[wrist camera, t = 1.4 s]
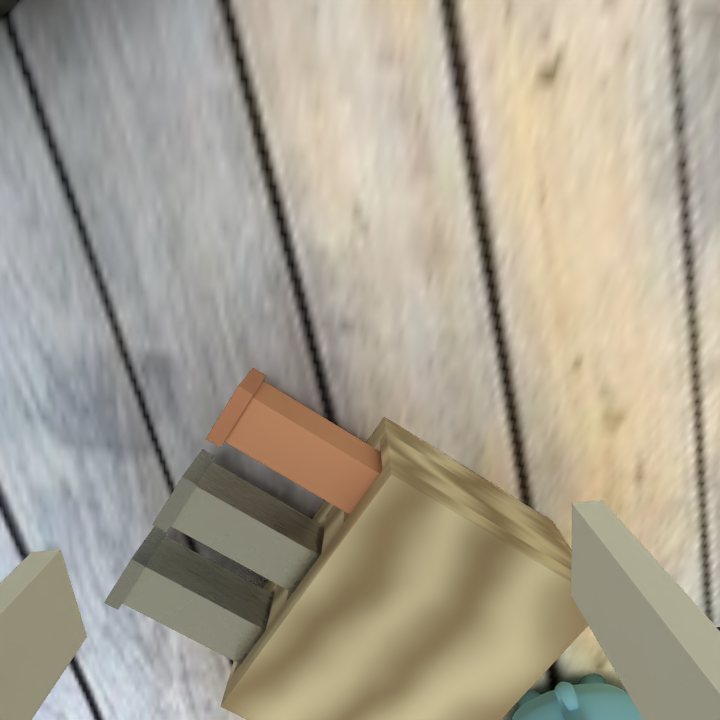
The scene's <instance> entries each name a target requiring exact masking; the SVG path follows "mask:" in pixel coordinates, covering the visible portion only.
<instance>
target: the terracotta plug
mask: <svg viewBox="0 0 720 720" xmlns="http://www.w3.org/2000/svg"><path fill="white" fill-rule="evenodd" d="M265 377H266V375H264V374H263V373H261V372H259V371H258V370H256V369H254V368H253V369H252V370H251V371H250V372H249V374H248V375H247V376H246V377H245V379H244V380H243V381H242V382H241V384H240V385H239V386H238V388H237V389H236V391H235V393H234V394H233V396H232V397H231V399H230V401H229V402H228V404H227V405H226V407H225V409H224V410H223V412H222V413H221V415H220V417H219V418H218V420H217V422H216V423H215V425H214V426H213V428H212V430H211V431H210V433H209V434H208V436H207V438H206V439H207V440H208V441H210V442H212V443H214V444H215V445H217V446H219V447H221V445H222V444H223V442H226V443H228V444H229V445H231V446H233V447H234V448H236V449H238V450H240V451H241V452H243V453H245V454H246V455H248V456H250V457H252V458H253V459H255V460H257V461H259V462H260V463H262V464H264V465H265V466H267V467H269V468H271V469H272V470H274V471H276V472H277V473H279V474H281V475H283V476H284V477H286V478H288V479H290V480H291V481H293V482H295V483H296V484H298V485H300V486H302V487H303V488H305V489H307V490H308V491H310V492H312V493H314V494H315V495H317V496H319V497H320V498H322V499H324V500H326V501H327V502H329V503H331V504H333V505H334V506H336V507H338V508H339V509H341V510H343V511H345V512H346V513H348V514H351V513H352V511H353V510H354V509H355V507H356V506H357V504H358V503H359V502H360V500H361V499H362V498H363V496H364V495H365V493H366V492H367V491H368V489H369V488H370V487H371V485H372V484H373V483H374V481H375V480H376V478H377V477H378V476H379V474H380V473H381V472H382V460H381V452H380V451H378V450H376V449H375V448H373V447H371V446H370V445H368V444H367V443H365V442H363V441H362V440H360V439H358V438H357V437H355V436H353V435H352V434H350V433H348V432H347V431H345V430H343V429H342V428H340V427H339V426H337V425H335V424H334V423H332V422H330V421H329V420H327V419H325V418H324V417H322V416H320V415H319V414H317V413H315V412H314V411H312V410H311V409H309V408H307V407H306V406H304V405H302V404H301V403H299V402H297V401H296V400H294V399H292V398H291V397H289V396H287V395H286V394H284V393H283V392H281V391H279V390H278V389H276V388H274V387H273V386H271V385H269V384H268V383H266V382H264V381H263V380H264V378H265Z"/></svg>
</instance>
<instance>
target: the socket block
mask: <svg viewBox="0 0 720 720" xmlns="http://www.w3.org/2000/svg"><path fill="white" fill-rule="evenodd" d="M366 443H367V444H368V445H370V446H371V447H373V448H375V449H376V450H378V451H380V452H381V460H382V472H381V473H380V474H379V476H378V477H377V478H376V480H375V481H374V483H373V484H372V485H371V487H370V488H369V489H368V491H367V492H366V493H365V495H364V496H363V498H362V499H361V500H360V502H359V503H358V504H357V506H356V507H355V509H354V510H353V511H352V513H351V514H348V513H346V512H345V511H343V510H341V509H339V508H338V507H336V506H334V505H333V504H331V503H329V502H327V501H326V500H325V501H324V503H323V504H322V506H321V507H320V509H319V510H318V511H317V513H316V514H315V516H314V517H313V518H312V519H313V520H315V521H317V522H318V523H320V524H322V525H324V526H325V529H324V537H323V545H322V553H321V555H320V556H319V558H318V559H317V561H316V562H315V563H314V565H313V566H312V567H311V569H310V570H309V572H308V573H307V574H306V576H305V577H304V578H303V580H302V581H301V583H300V584H299V585H298V587H297V588H296V589H295V591H294V592H293V593H292V592H290V591H289V590H287V589H285V588H283V587H281V586H279V585H278V584H276V583H274V582H272V581H270V580H268V582H267V583H266V585H265V586H264V587H263V589H264V590H266V591H268V592H270V593H272V594H274V598H273V602H272V607H271V611H270V615H269V619H268V623H267V627H266V630H265V632H264V633H263V635H262V636H261V637H260V639H259V640H258V641H257V643H256V644H255V646H254V647H253V648H252V650H251V651H250V652H249V654H248V655H247V656H246V658H245V659H244V661H243V662H242V663H241V664H239V663H237V662H235V661H234V663H233V666H232V670H231V673H230V676H229V680H228V683H227V686H226V690H225V693H224V696H223V700H222V703H221V707H223V708H225V709H227V710H229V711H231V712H233V713H235V714H237V715H239V716H241V717H243V718H245V719H247V720H501V719H502V718H503V717H504V716H505V715H506V714H507V713H508V711H509V710H510V709H511V708H512V707H513V706H514V705H515V704H516V703H517V702H518V701H519V700H520V699H521V697H522V696H523V695H524V694H525V693H526V692H527V691H528V690H529V689H530V688H531V687H532V686H533V684H534V683H535V682H536V681H537V680H538V679H539V678H540V677H541V676H542V675H543V674H544V673H545V672H546V670H547V669H548V668H549V667H550V666H551V665H552V664H553V663H554V662H555V661H556V660H557V659H558V658H559V656H560V655H561V654H562V653H563V652H564V651H565V650H566V649H567V648H568V647H569V646H570V645H571V644H572V642H573V641H574V640H575V639H576V638H577V637H578V636H579V635H580V634H581V633H582V632H583V631H584V629H585V628H586V627H587V626H588V623H587V622H586V620H585V618H584V616H583V615H582V613H581V611H580V609H579V608H578V606H577V604H576V602H575V601H574V599H573V597H572V596H571V565H572V550H571V548H570V547H569V545H568V544H567V542H566V541H565V539H564V538H563V536H562V535H561V533H560V532H559V530H558V529H557V527H556V526H555V524H554V523H553V521H551V520H550V519H548V518H547V517H545V516H543V515H542V514H540V513H538V512H537V511H535V510H534V509H532V508H530V507H529V506H527V505H526V504H524V503H522V502H521V501H519V500H518V499H516V498H514V497H513V496H511V495H509V494H508V493H506V492H505V491H503V490H501V489H500V488H498V487H497V486H495V485H493V484H492V483H490V482H488V481H487V480H485V479H484V478H482V477H480V476H479V475H477V474H476V473H474V472H472V471H471V470H469V469H467V468H466V467H464V466H463V465H461V464H459V463H458V462H456V461H455V460H453V459H451V458H450V457H448V456H447V455H445V454H443V453H442V452H440V451H438V450H437V449H435V448H434V447H432V446H430V445H429V444H427V443H426V442H424V441H422V440H421V439H419V438H417V437H416V436H414V435H413V434H411V433H409V432H408V431H406V430H405V429H403V428H401V427H400V426H398V425H396V424H395V423H393V422H392V421H390V420H388V419H387V418H385V417H384V418H383V420H382V421H381V423H380V424H379V425H378V427H377V428H376V430H375V431H374V432H373V434H372V435H371V437H370V438H369V439H368V441H367V442H366Z"/></svg>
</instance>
